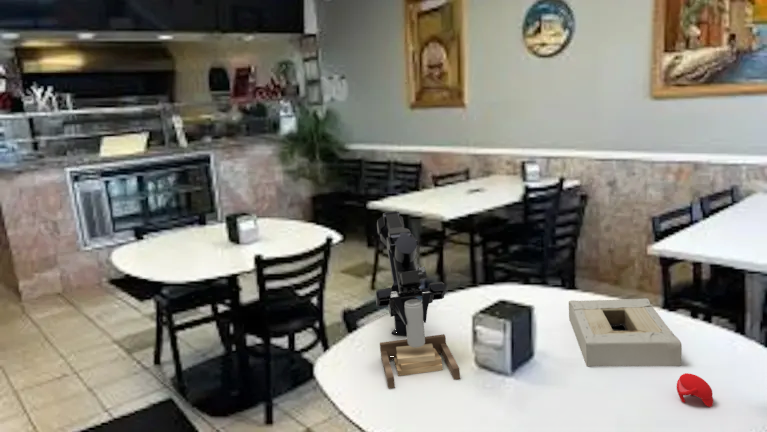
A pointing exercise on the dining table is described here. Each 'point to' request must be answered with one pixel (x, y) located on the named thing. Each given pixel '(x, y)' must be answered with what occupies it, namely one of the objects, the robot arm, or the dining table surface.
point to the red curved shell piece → (694, 388)
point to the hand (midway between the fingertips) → (415, 323)
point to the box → (623, 334)
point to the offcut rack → (390, 346)
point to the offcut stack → (417, 360)
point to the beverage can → (414, 323)
